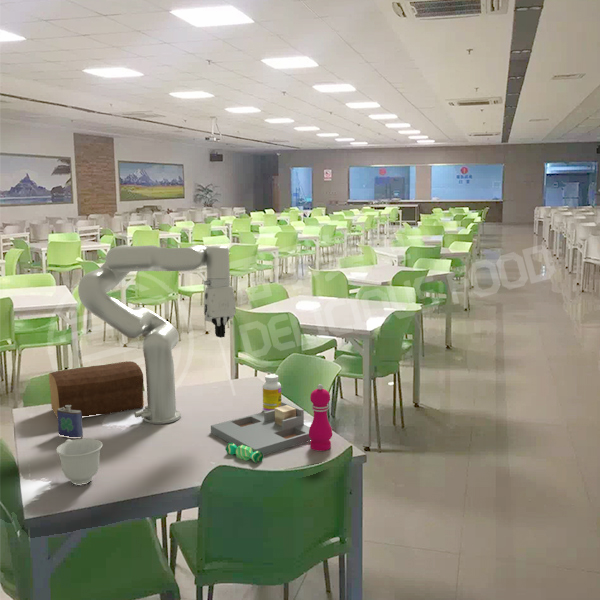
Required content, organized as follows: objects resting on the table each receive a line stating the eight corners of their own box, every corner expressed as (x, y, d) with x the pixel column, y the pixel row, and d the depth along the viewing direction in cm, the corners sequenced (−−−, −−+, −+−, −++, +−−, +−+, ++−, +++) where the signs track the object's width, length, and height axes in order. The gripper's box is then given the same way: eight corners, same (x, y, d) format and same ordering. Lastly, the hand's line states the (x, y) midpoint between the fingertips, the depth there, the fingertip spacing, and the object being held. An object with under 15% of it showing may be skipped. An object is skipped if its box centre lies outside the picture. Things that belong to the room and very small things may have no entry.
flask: (84, 437, 216) (82, 405, 214) (78, 440, 213) (76, 408, 211) (62, 433, 219) (59, 402, 218) (55, 436, 217) (53, 404, 215)
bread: (50, 409, 244) (47, 366, 241) (132, 396, 258) (129, 355, 256) (59, 424, 228) (56, 378, 226) (145, 409, 243) (143, 366, 240)
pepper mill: (335, 444, 207) (335, 381, 204) (328, 453, 201) (328, 388, 197) (313, 441, 210) (312, 379, 206) (305, 450, 203) (304, 386, 200)
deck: (255, 457, 198) (254, 433, 197) (210, 432, 218) (210, 410, 217) (318, 438, 212) (318, 415, 211) (271, 416, 233) (270, 396, 231)
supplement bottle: (281, 414, 235) (280, 378, 233) (262, 414, 236) (261, 378, 233) (282, 407, 242) (281, 373, 240) (263, 407, 242) (263, 373, 240)
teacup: (89, 465, 194) (87, 432, 192) (112, 481, 183) (110, 446, 181) (47, 477, 186) (45, 443, 184) (69, 495, 175) (66, 459, 173)
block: (283, 426, 216) (283, 412, 215) (275, 422, 220) (274, 408, 219) (296, 423, 219) (296, 408, 218) (287, 419, 223) (287, 404, 222)
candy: (223, 452, 200) (229, 439, 201) (230, 456, 202) (236, 443, 203) (252, 463, 192) (258, 449, 193) (259, 466, 195) (265, 452, 196)
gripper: (204, 286, 216) (206, 341, 219) (243, 281, 225) (245, 335, 228) (193, 283, 222) (195, 338, 225) (231, 279, 231) (233, 331, 234)
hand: (220, 336), depth 226 cm, fingers closed
